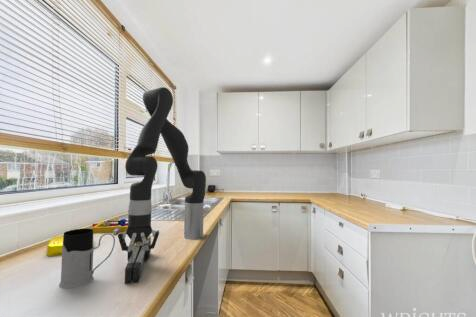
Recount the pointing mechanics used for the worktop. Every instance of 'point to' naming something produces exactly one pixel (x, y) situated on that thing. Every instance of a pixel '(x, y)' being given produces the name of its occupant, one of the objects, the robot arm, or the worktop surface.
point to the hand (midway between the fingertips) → (138, 261)
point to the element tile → (55, 246)
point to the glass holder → (78, 258)
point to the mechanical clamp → (106, 226)
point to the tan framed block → (142, 243)
